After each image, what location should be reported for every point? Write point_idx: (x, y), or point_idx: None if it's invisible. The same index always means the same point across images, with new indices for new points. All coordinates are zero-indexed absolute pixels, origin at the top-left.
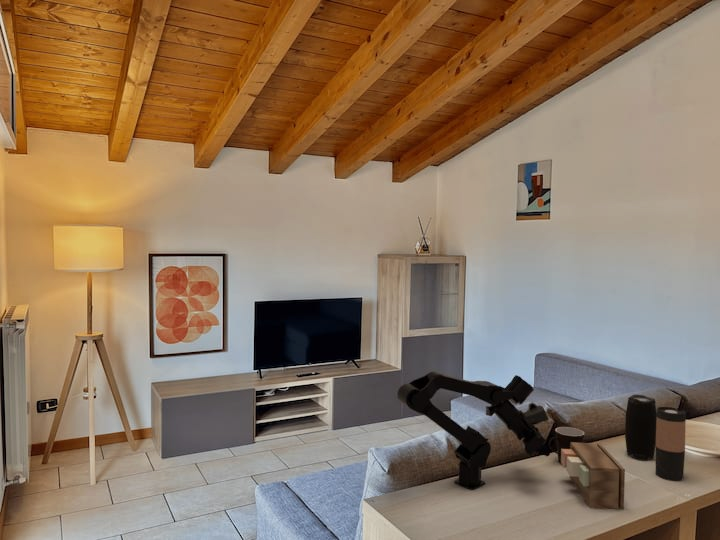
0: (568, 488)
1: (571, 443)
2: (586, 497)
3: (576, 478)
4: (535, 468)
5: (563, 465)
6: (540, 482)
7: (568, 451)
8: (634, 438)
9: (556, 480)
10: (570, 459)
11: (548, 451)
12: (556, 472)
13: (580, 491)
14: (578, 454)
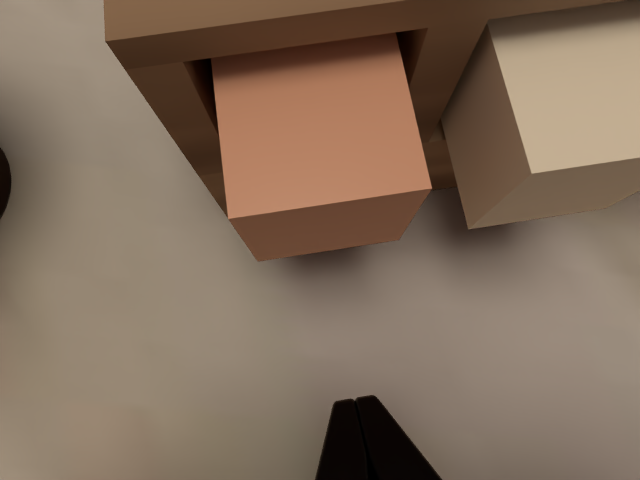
0: (429, 249)
1: (165, 33)
2: None
3: None
4: (92, 476)
5: (354, 245)
6: None
7: (311, 132)
8: None
9: (308, 320)
10: (628, 139)
11: (402, 430)
12: (148, 305)
13: None
14: (536, 8)
